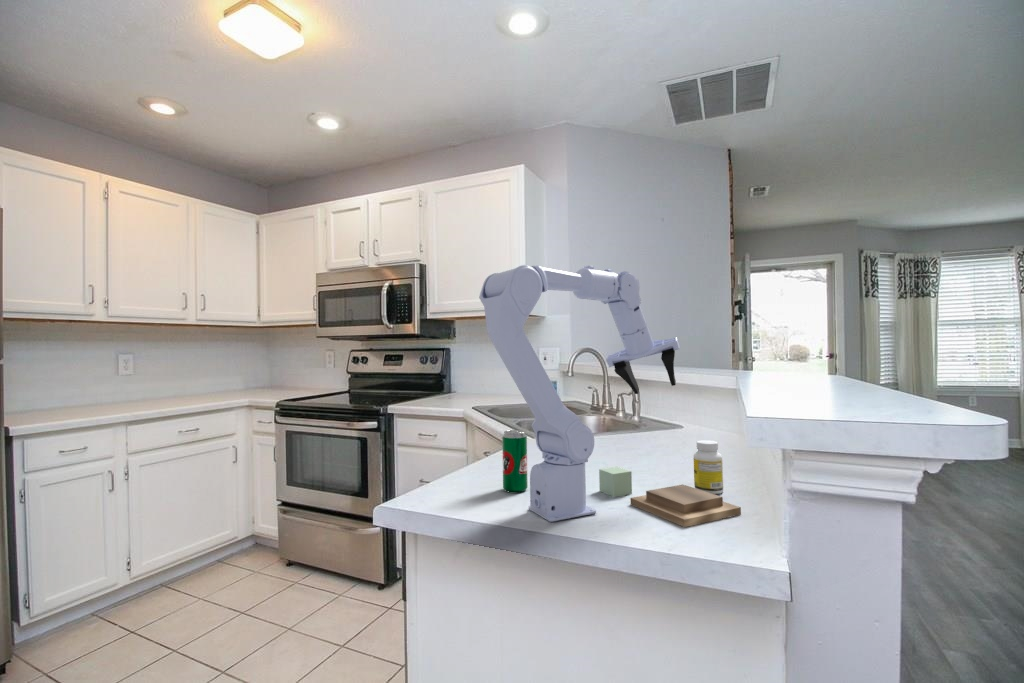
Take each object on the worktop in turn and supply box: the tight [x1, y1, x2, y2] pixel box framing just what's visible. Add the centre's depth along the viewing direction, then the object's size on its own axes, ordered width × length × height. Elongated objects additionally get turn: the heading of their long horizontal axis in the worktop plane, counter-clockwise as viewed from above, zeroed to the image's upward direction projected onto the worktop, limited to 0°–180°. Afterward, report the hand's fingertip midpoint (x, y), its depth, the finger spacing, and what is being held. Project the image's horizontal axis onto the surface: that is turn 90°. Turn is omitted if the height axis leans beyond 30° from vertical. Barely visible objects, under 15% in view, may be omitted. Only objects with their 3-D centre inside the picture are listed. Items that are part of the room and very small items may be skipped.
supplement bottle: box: [693, 439, 724, 495], centre depth 95 cm, size 5×5×10 cm
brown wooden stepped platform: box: [629, 484, 742, 528], centre depth 83 cm, size 13×13×3 cm
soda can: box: [501, 429, 529, 493], centre depth 97 cm, size 5×5×12 cm
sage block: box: [598, 466, 633, 498], centre depth 94 cm, size 4×4×4 cm
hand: (655, 387), depth 98 cm, fingers open, 7 cm apart
